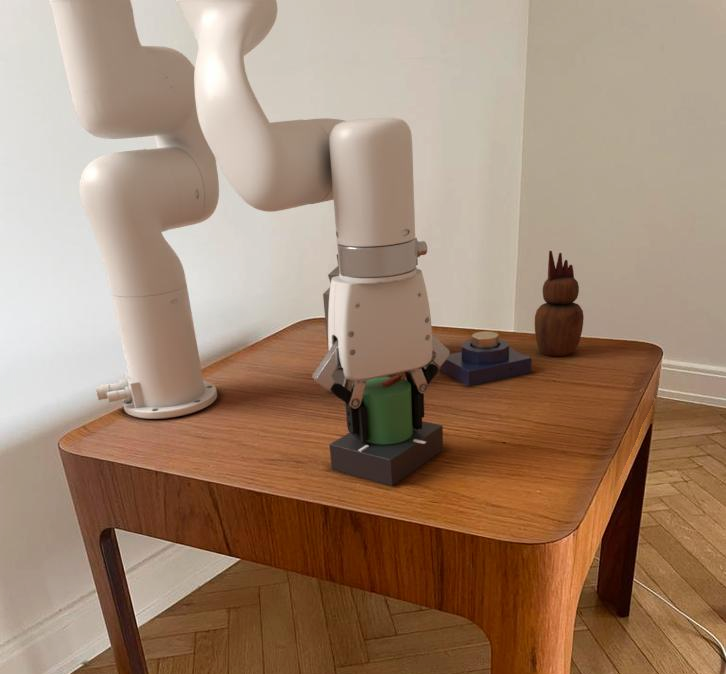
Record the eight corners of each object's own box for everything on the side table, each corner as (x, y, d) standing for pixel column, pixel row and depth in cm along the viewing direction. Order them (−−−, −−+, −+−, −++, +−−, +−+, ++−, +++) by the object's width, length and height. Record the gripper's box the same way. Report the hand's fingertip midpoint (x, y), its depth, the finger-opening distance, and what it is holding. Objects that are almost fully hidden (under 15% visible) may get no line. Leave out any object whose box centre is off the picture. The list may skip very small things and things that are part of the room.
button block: (468, 386, 101) (468, 358, 99) (440, 370, 107) (439, 343, 105) (531, 373, 104) (532, 345, 102) (499, 358, 110) (500, 331, 109)
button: (480, 352, 102) (480, 340, 101) (467, 346, 105) (467, 334, 104) (503, 348, 103) (503, 335, 102) (489, 341, 106) (489, 329, 105)
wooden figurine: (535, 360, 108) (539, 254, 102) (532, 348, 114) (536, 246, 107) (583, 359, 108) (591, 252, 101) (577, 347, 113) (584, 244, 106)
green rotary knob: (393, 448, 77) (391, 396, 74) (350, 438, 80) (346, 387, 77) (422, 429, 81) (421, 379, 78) (380, 420, 84) (377, 371, 81)
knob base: (399, 488, 76) (398, 460, 74) (325, 467, 81) (322, 441, 80) (450, 451, 83) (449, 425, 81) (378, 434, 88) (377, 410, 87)
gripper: (436, 243, 78) (439, 404, 86) (280, 266, 72) (300, 437, 81) (474, 253, 72) (473, 426, 80) (307, 279, 66) (325, 463, 74)
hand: (386, 430), depth 80 cm, fingers closed on green rotary knob, 5 cm apart
